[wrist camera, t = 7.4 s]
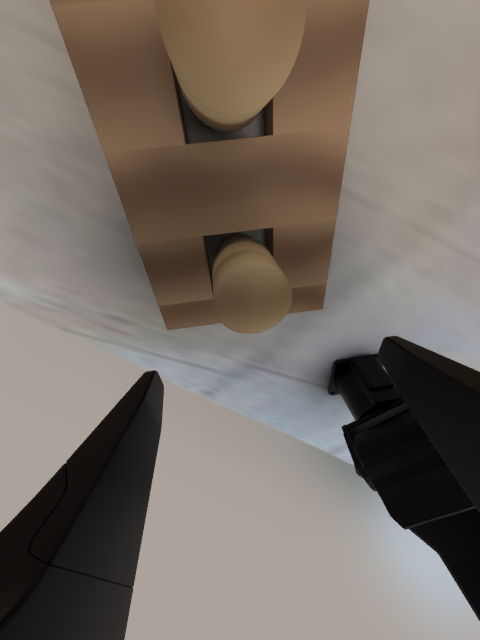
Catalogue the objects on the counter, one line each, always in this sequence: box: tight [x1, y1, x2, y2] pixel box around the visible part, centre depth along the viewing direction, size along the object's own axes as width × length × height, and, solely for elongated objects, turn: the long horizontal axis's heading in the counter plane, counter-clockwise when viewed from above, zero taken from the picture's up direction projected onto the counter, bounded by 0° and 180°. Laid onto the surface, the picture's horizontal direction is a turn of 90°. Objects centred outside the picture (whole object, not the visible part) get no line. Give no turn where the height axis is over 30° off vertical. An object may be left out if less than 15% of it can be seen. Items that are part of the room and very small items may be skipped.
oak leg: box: [212, 234, 292, 334], centre depth 16 cm, size 4×4×8 cm
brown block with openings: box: [50, 0, 369, 330], centre depth 13 cm, size 20×14×8 cm
